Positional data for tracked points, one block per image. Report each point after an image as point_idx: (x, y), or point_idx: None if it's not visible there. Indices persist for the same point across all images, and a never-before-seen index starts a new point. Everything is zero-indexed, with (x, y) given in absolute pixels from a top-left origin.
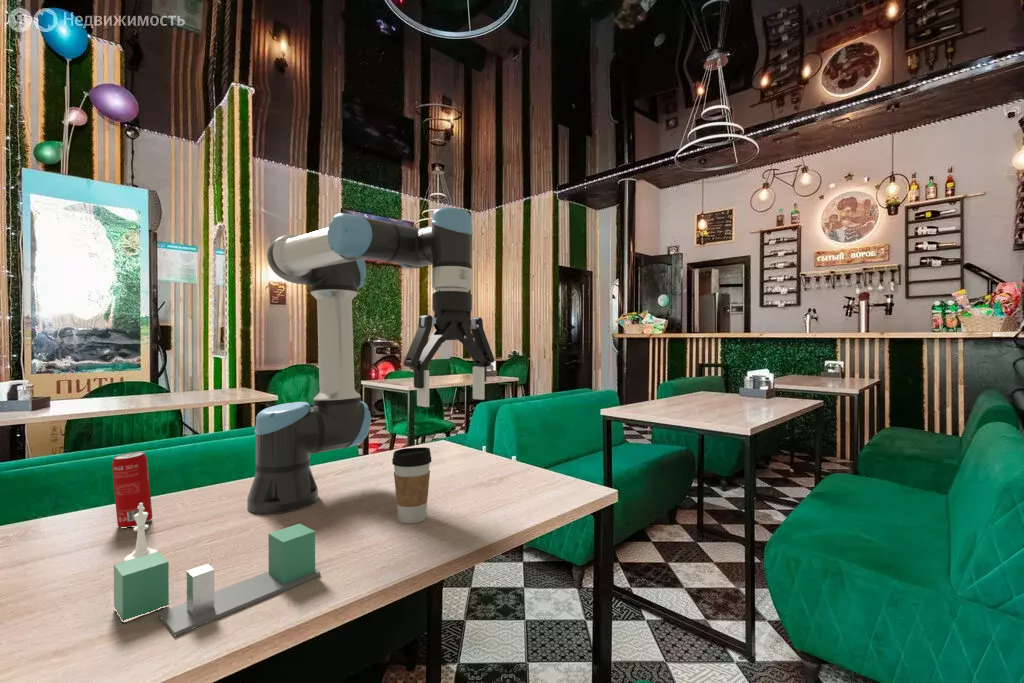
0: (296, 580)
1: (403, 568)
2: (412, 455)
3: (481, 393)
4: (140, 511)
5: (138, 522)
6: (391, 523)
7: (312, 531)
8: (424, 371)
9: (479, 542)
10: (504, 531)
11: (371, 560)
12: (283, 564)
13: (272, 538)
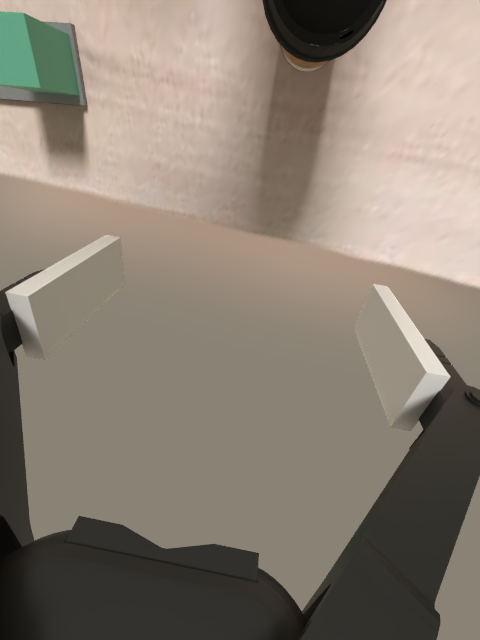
0: (53, 98)
1: (173, 192)
2: (285, 27)
3: (358, 340)
4: None
5: None
6: None
7: (36, 84)
8: (26, 344)
9: (285, 229)
10: (335, 239)
11: (156, 132)
12: (17, 88)
13: None
